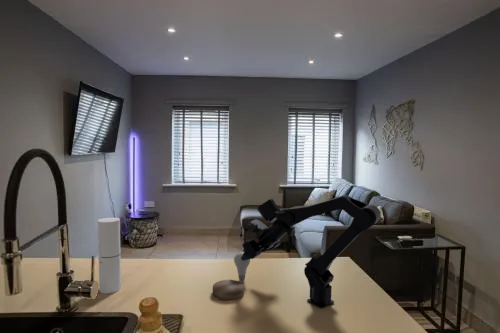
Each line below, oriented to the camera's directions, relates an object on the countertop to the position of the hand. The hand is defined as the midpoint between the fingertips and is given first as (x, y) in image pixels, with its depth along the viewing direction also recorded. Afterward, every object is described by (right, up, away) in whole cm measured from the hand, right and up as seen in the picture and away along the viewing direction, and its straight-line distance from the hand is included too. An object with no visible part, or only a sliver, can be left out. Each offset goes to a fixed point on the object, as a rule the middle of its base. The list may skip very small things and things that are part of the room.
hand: (248, 256), depth 131 cm
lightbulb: (-3, -10, +2) cm, 11 cm away
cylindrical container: (-49, -10, -7) cm, 51 cm away
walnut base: (-7, -11, -9) cm, 16 cm away
